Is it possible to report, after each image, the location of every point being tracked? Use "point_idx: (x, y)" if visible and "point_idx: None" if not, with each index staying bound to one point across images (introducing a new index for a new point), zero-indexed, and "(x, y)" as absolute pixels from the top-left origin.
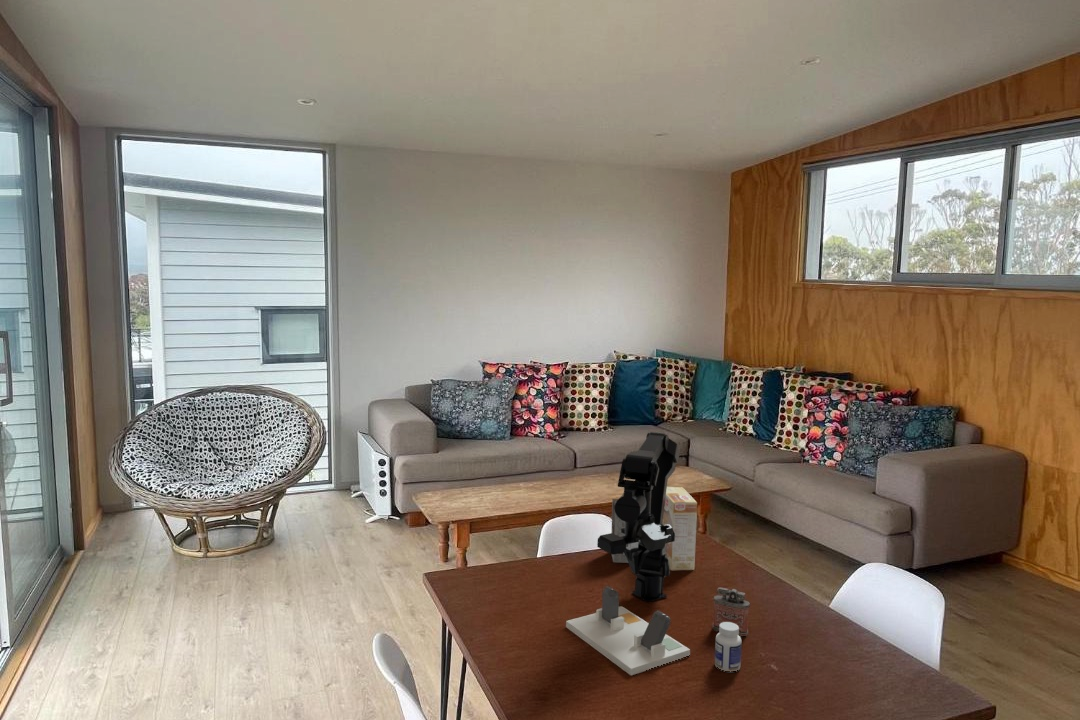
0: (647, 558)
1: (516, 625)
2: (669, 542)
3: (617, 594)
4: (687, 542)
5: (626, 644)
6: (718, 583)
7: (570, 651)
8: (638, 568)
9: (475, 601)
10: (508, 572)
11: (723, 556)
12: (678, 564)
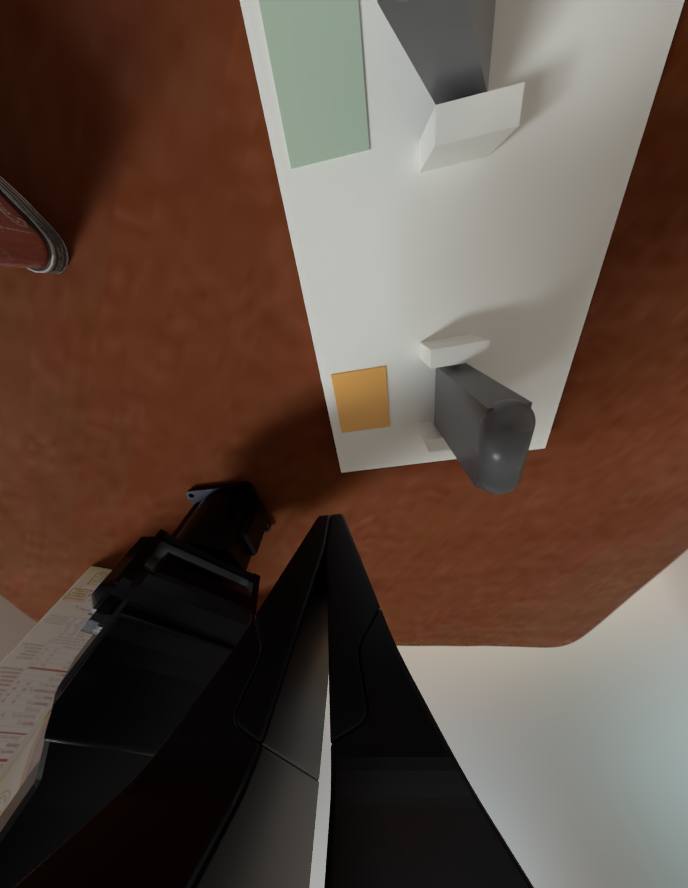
0: (188, 620)
1: (626, 482)
2: None
3: (505, 407)
4: (44, 645)
5: (508, 186)
6: (30, 509)
7: (663, 287)
8: (319, 549)
9: (594, 577)
10: (455, 628)
11: (15, 588)
12: None
